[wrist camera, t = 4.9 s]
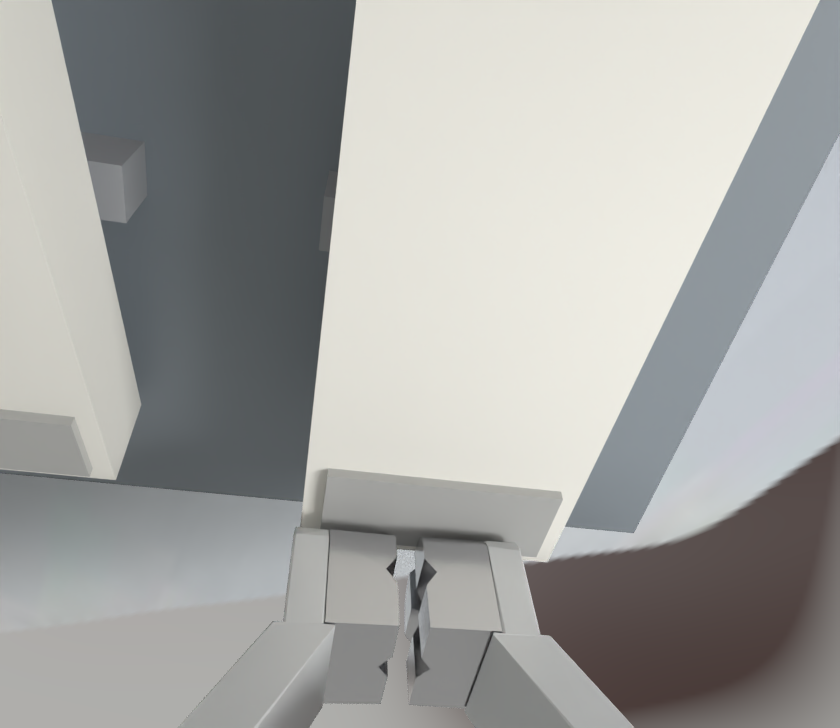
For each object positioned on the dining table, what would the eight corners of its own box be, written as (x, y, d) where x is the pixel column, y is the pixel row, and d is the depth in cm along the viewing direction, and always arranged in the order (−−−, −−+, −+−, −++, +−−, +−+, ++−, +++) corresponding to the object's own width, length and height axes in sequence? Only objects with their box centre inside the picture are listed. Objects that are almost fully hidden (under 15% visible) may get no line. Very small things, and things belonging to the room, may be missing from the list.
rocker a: (783, -108, 7) (873, -88, 6) (533, 490, 12) (549, 569, 11) (382, -199, 6) (377, -199, 5) (308, 468, 12) (297, 548, 11)
